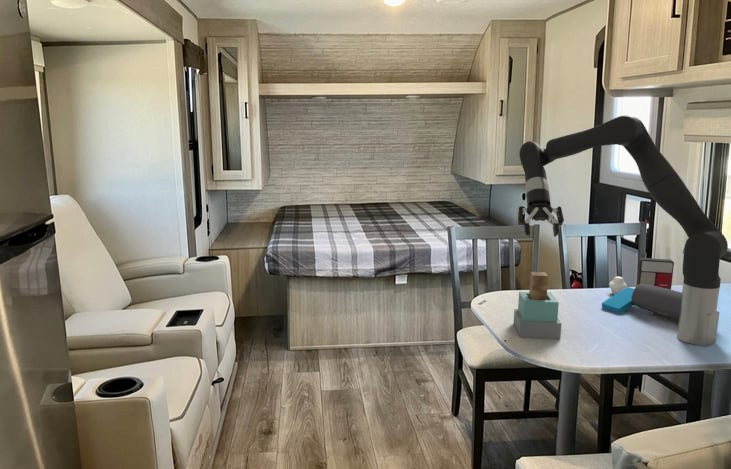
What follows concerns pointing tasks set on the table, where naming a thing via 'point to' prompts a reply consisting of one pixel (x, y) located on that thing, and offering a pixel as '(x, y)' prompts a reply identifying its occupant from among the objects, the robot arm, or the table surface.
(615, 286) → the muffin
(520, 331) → the tower base
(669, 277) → the color panel box
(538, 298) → the walnut brick
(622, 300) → the blue rectangular block
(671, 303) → the bluetooth speaker
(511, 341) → the table surface
